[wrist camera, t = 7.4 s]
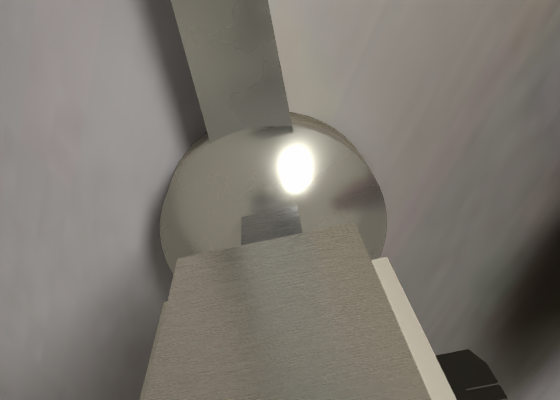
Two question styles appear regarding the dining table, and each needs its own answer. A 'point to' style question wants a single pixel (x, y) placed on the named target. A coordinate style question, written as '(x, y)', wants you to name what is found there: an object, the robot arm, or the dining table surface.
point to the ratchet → (257, 147)
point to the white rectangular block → (283, 325)
